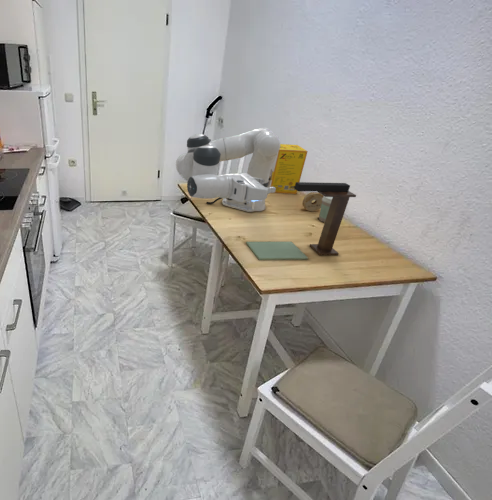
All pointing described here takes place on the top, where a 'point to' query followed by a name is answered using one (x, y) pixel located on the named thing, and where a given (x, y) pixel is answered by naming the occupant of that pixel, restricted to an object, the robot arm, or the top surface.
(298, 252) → the base pad
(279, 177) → the packaging box
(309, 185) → the black bar
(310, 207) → the stone disc
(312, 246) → the shelf stand
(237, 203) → the robot arm
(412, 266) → the top surface
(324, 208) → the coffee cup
